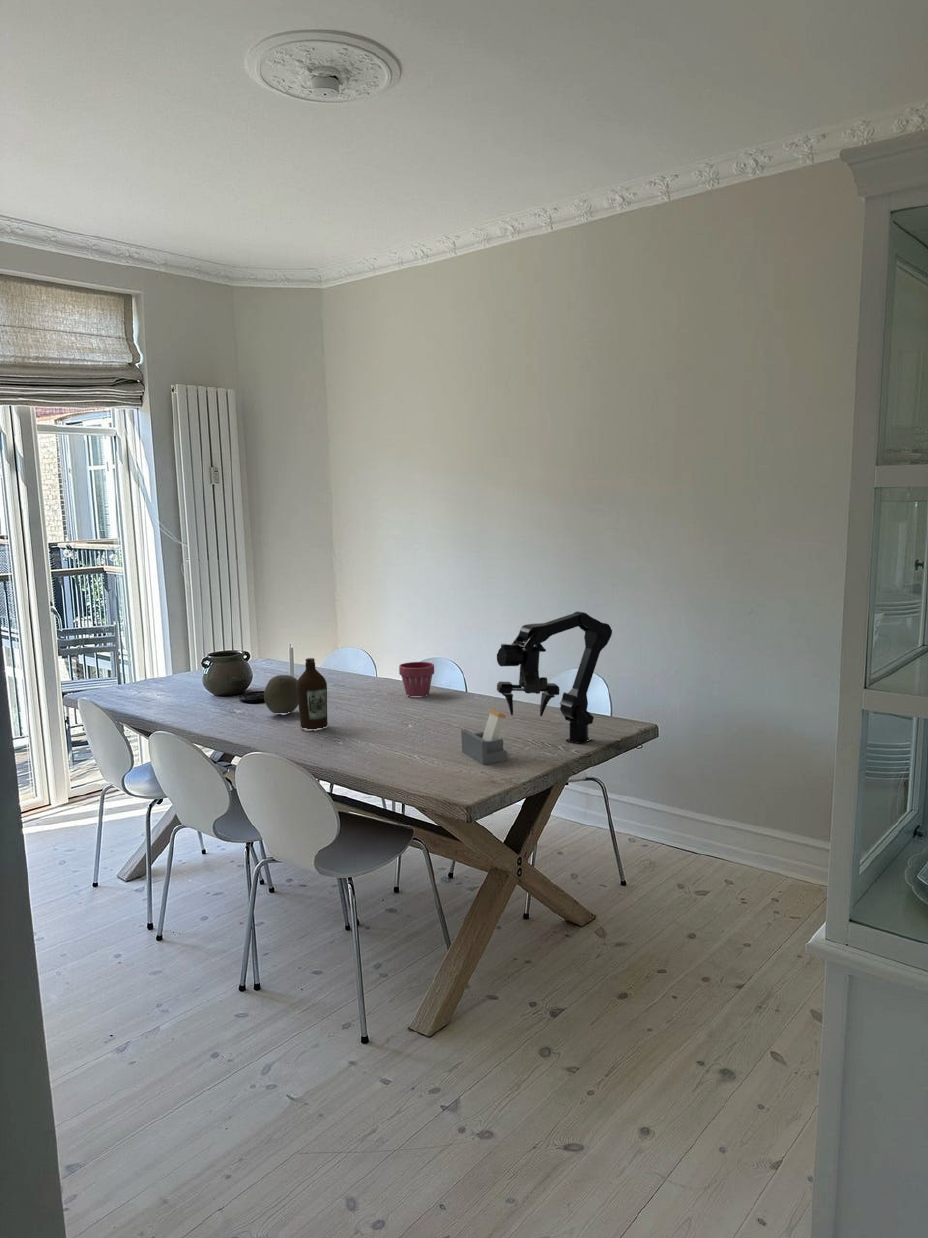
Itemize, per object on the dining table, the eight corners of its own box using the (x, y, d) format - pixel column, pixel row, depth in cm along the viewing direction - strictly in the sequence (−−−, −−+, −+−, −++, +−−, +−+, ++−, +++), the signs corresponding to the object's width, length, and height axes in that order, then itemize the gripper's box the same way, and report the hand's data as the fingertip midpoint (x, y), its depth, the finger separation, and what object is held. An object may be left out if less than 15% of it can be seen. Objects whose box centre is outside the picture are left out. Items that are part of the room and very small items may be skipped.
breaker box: (485, 747, 275) (484, 726, 274) (507, 760, 261) (506, 738, 260) (462, 751, 272) (461, 729, 271) (482, 764, 258) (481, 741, 257)
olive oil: (294, 727, 310) (289, 658, 306) (321, 722, 315) (317, 655, 312) (306, 733, 301) (301, 662, 297) (334, 728, 306) (330, 658, 303)
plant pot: (442, 693, 356) (440, 662, 354) (422, 700, 344) (421, 669, 343) (413, 690, 364) (412, 660, 362) (393, 697, 352) (391, 666, 350)
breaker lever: (487, 741, 270) (497, 710, 270) (496, 746, 264) (506, 715, 264) (480, 739, 269) (489, 708, 269) (489, 744, 263) (498, 713, 263)
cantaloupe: (299, 718, 324) (296, 678, 322) (261, 719, 324) (258, 680, 322) (306, 709, 338) (304, 671, 336) (270, 710, 338) (267, 672, 336)
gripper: (504, 668, 259) (501, 720, 260) (565, 671, 261) (561, 722, 262) (497, 663, 270) (495, 712, 271) (556, 665, 272) (553, 714, 273)
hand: (526, 715), depth 269 cm, fingers open, 9 cm apart
